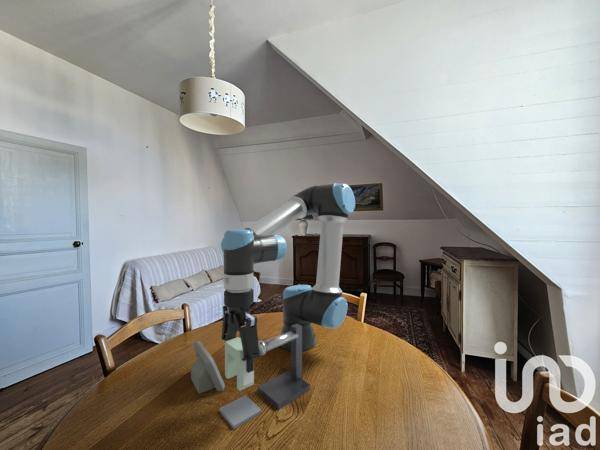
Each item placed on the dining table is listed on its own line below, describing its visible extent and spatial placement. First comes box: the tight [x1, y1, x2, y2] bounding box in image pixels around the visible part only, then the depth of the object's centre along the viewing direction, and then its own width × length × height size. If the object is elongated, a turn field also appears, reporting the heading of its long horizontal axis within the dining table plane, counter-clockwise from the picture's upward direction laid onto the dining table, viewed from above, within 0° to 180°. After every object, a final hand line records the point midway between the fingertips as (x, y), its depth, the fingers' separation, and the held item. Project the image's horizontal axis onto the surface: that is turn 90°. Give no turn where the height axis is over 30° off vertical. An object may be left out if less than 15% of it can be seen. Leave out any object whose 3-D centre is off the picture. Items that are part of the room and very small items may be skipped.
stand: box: [257, 324, 311, 410], centre depth 77 cm, size 10×14×18 cm
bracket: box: [224, 336, 255, 392], centre depth 69 cm, size 8×4×10 cm, turn 42°
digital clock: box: [190, 340, 226, 394], centre depth 83 cm, size 16×9×11 cm, turn 25°
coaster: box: [218, 394, 262, 430], centre depth 70 cm, size 8×8×1 cm
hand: (239, 375), depth 69 cm, fingers closed on bracket, 8 cm apart
